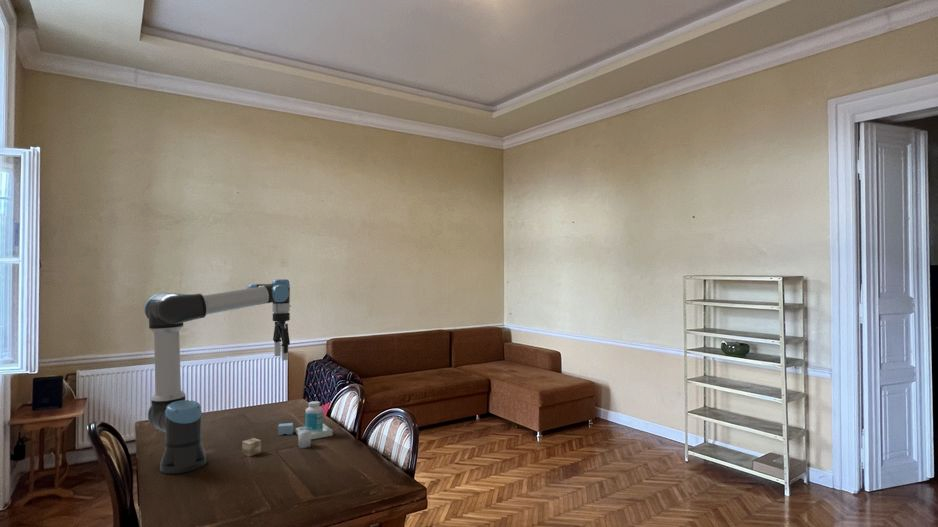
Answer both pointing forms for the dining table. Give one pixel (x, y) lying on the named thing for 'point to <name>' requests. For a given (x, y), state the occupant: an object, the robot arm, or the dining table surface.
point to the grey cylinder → (304, 438)
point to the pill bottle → (314, 417)
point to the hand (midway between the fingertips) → (281, 358)
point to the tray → (324, 433)
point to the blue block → (285, 428)
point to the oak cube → (251, 447)
